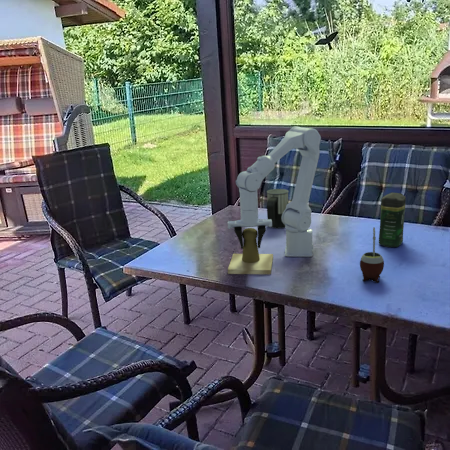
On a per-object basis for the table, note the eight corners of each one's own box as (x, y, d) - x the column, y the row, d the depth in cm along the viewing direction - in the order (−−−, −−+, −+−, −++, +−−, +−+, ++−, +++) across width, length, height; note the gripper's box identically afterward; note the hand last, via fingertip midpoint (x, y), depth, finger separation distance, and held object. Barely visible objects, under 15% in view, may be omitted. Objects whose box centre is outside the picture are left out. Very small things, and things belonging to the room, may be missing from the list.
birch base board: (273, 258, 171) (273, 254, 171) (270, 274, 158) (270, 270, 158) (233, 257, 174) (233, 253, 173) (227, 273, 160) (227, 269, 160)
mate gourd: (369, 285, 147) (371, 238, 142) (352, 276, 154) (354, 231, 149) (389, 280, 149) (392, 234, 145) (372, 271, 156) (374, 227, 152)
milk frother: (267, 222, 211) (267, 188, 206) (305, 221, 208) (305, 187, 204) (265, 232, 197) (264, 197, 193) (305, 232, 195) (305, 196, 190)
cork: (259, 263, 164) (258, 232, 160) (241, 263, 164) (240, 232, 161) (259, 255, 169) (258, 225, 166) (242, 255, 170) (241, 226, 166)
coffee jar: (398, 249, 173) (402, 198, 167) (376, 246, 177) (378, 196, 171) (405, 240, 181) (408, 192, 175) (383, 238, 185) (385, 190, 179)
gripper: (270, 204, 163) (271, 242, 167) (226, 206, 163) (228, 244, 168) (272, 209, 157) (273, 249, 161) (226, 212, 157) (228, 251, 161)
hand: (250, 247), depth 164 cm, fingers closed on cork, 5 cm apart
